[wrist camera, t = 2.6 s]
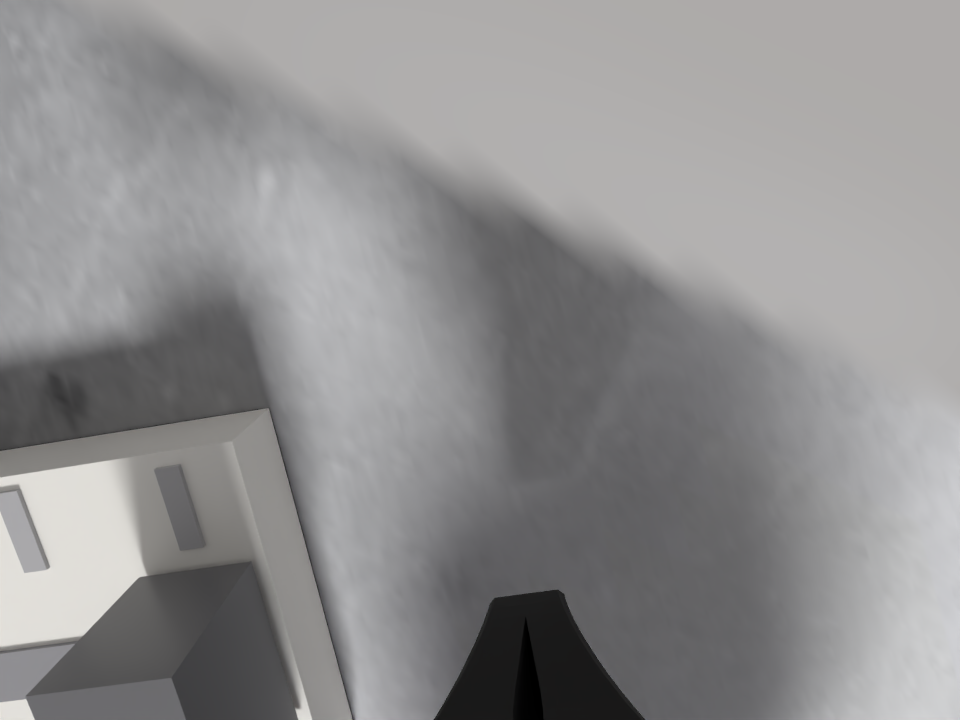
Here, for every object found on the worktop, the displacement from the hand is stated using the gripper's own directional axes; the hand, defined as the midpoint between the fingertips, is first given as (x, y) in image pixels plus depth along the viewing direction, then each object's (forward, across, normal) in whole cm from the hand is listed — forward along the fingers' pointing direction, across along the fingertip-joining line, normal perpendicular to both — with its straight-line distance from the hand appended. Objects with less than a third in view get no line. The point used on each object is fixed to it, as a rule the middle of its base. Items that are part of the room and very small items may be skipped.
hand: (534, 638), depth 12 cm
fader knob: (+1, +7, 0) cm, 7 cm away
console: (+3, +10, 0) cm, 10 cm away
